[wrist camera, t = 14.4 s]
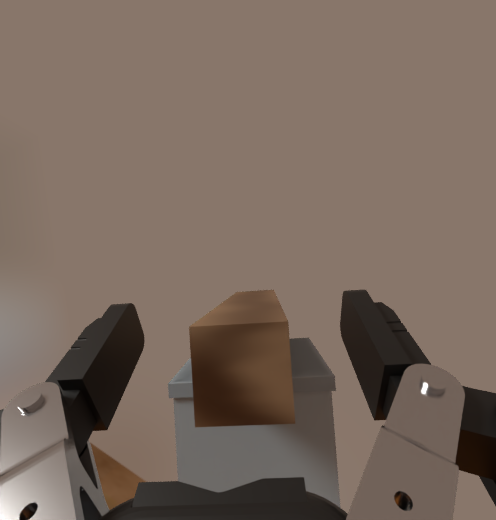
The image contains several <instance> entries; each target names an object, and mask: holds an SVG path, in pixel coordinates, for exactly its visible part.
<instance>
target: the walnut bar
mask: <svg viewBox="0 0 496 520" xmlns="http://www.w3.org/2000/svg"><path fill="white" fill-rule="evenodd" d="M189 331H190V349H191V367H192V384H193V402H194V420H195V427H221V426H248V425H275V424H295V411H294V397H293V383H292V369H291V355H290V341H289V327H288V320H287V318H286V316H285V314H284V312H283V309H282V307H281V305H280V303H279V301H278V299H277V296H276V294H275V292H274V290H264V291H247V292H236V293H235V294H234V295H232V296H231V297H230V298H228V299H227V300H225V301H224V302H223V303H221V304H220V305H218V306H217V307H216V308H214V309H213V310H212V311H210V312H209V313H208V314H206V315H205V316H204V317H202V318H201V319H199V320H198V321H197V322H195V323H194V324H192V325H191V326H190V327H189Z"/></svg>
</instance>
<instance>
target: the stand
mask: <svg viewBox="0 0 496 520" xmlns="http://www.w3.org/2000/svg"><path fill="white" fill-rule="evenodd" d="M289 341H290V355H291V369H292V383H293V397H294V411H295V424H275V425H248V426H221V427H195V420H194V402H193V384H192V367H191V358H190V359H189V360H188V361H187V362H186V364H185V365H184V366H183V367H182V368H181V369H180V371H179V372H178V373H177V374H176V375H175V376H174V378H173V379H172V380H171V381H170V382H169V384H168V389H169V398H174V414H175V433H176V451H177V469H178V481H179V482H183V483H186V484H190V485H193V486H197V487H200V488H203V489H207V490H210V491H214V492H224V491H227V490H230V489H233V488H236V487H239V486H242V485H245V484H248V483H251V482H254V481H257V480H260V479H263V478H292V477H304V480H305V487H306V491H308V492H311V493H315V494H317V495H319V496H321V497H324V498H326V499H327V500H329V501H331V502H332V503H334V504H336V505H337V506H338V507H340V498H339V484H338V471H337V458H336V446H335V433H334V419H333V406H332V393H331V391H335V390H336V388H335V376H334V374H333V373H332V371H331V370H330V369H329V367H328V366H327V364H326V363H325V361H324V360H323V358H322V357H321V355H320V354H319V352H318V351H317V349H316V348H315V346H314V345H313V343H312V342H311V340H310V339H309V338H295V339H289Z"/></svg>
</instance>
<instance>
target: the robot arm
mask: <svg viewBox="0 0 496 520" xmlns="http://www.w3.org/2000/svg"><path fill="white" fill-rule="evenodd" d="M340 328H341V336H342V339H343V342H344V344H345V347H346V350H347V352H348V355H349V357H350V360H351V362H352V365H353V368H354V370H355V373H356V375H357V378H358V380H359V383H360V385H361V388H362V390H363V393H364V395H365V398H366V401H367V403H368V405H369V408H370V410H371V413H372V416H373V418H374V420H386V422H385V425H384V426H382V427H381V429H380V431H379V434H378V436H377V439H376V442H375V444H374V447H373V450H372V452H371V455H370V457H369V460H368V463H367V465H366V468H365V471H364V473H363V476H362V479H361V481H360V484H359V487H358V489H357V492H356V494H355V497H354V500H353V502H352V505H351V508H350V510H349V513H348V514H347V513H346V512H345V511H344V510H342V509H341V508H340V507H338V506H337V505H336V504H334V503H332V502H331V501H329V500H327V499H326V498H324V497H321V496H319V495H317V494H315V493H311V492H308V491H306V487H305V480H304V477H292V478H263V479H260V480H257V481H254V482H251V483H248V484H245V485H242V486H239V487H236V488H233V489H230V490H227V491H224V492H214V491H210V490H207V489H203V488H200V487H197V486H193V485H190V484H186V483H183V482H179V481H173V482H172V481H171V482H141V483H139V484H138V487H137V490H136V494H135V497H134V498H133V499H130V500H128V501H126V502H124V503H122V504H120V505H118V506H116V507H115V508H113V509H111V510H110V511H109V509H108V506H107V504H106V501H105V498H104V495H103V492H102V488H101V484H100V480H99V476H98V472H97V468H96V464H95V460H94V456H93V452H92V448H91V445H90V443H89V441H88V439H89V437H90V435H91V433H92V431H99V430H107V429H108V427H109V425H110V422H111V420H112V418H113V416H114V414H115V411H116V409H117V407H118V404H119V402H120V400H121V398H122V396H123V393H124V391H125V389H126V386H127V384H128V382H129V380H130V378H131V375H132V373H133V371H134V369H135V366H136V364H137V362H138V360H139V357H140V355H141V353H142V351H143V347H144V334H143V330H142V327H141V324H140V321H139V318H138V314H137V311H136V309H135V306H134V305H133V304H132V303H129V304H113V305H111V306H110V307H109V308H108V309H107V311H106V312H105V313H104V315H103V316H102V318H98V319H96V320H95V321H94V322H93V323H91V324H90V325H89V326H87V327H86V328H85V329H84V331H83V332H82V333H81V335H80V336H79V337H78V340H77V341H75V343H74V344H73V345H72V347H71V350H69V351H68V352H67V353H66V355H65V356H64V358H63V359H62V360H61V361H60V363H59V364H58V365H57V367H56V368H55V370H54V371H53V372H52V373H51V375H50V376H49V377H48V379H47V380H46V381H45V382H44V383H39V384H36V385H33V386H31V387H29V388H27V389H25V390H24V391H22V392H21V393H19V394H18V395H16V396H15V397H14V398H13V399H12V400H11V401H10V402H9V403H8V405H7V406H6V407H5V409H2V410H0V520H452V519H453V512H454V505H455V497H456V490H457V482H458V474H459V470H461V471H464V472H468V473H471V474H475V475H478V476H479V477H480V479H481V480H482V482H483V484H484V486H485V488H486V489H487V491H488V493H489V495H490V497H491V498H492V500H493V502H494V504H495V506H496V393H491V392H487V391H482V390H477V389H472V388H468V387H464V386H462V385H461V384H460V382H458V380H457V379H456V378H455V377H454V376H453V375H451V374H450V373H448V372H447V371H445V370H443V369H441V368H439V367H436V366H433V365H431V363H430V362H429V361H428V359H427V358H426V356H425V355H424V354H423V352H422V351H421V349H420V348H419V346H418V345H417V343H416V342H415V341H414V339H413V338H412V336H411V335H410V333H409V332H407V329H406V328H405V326H404V325H403V323H401V321H400V319H399V318H398V316H397V315H396V314H395V312H394V311H393V310H392V309H390V308H389V307H388V306H386V305H385V304H383V303H382V302H378V303H374V302H373V300H372V299H371V297H370V296H369V294H368V292H367V291H366V290H351V291H344V292H343V297H342V309H341V322H340Z"/></svg>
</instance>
